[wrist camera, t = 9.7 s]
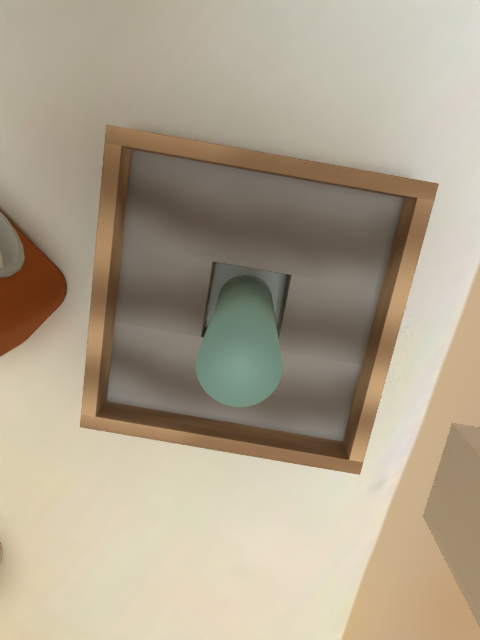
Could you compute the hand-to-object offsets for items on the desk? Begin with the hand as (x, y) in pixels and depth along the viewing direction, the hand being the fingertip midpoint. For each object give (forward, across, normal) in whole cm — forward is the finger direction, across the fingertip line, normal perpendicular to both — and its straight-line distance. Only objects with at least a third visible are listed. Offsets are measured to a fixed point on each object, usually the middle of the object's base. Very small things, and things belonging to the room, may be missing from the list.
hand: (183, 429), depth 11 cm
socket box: (+23, +1, -2) cm, 24 cm away
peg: (+24, +1, -2) cm, 24 cm away
